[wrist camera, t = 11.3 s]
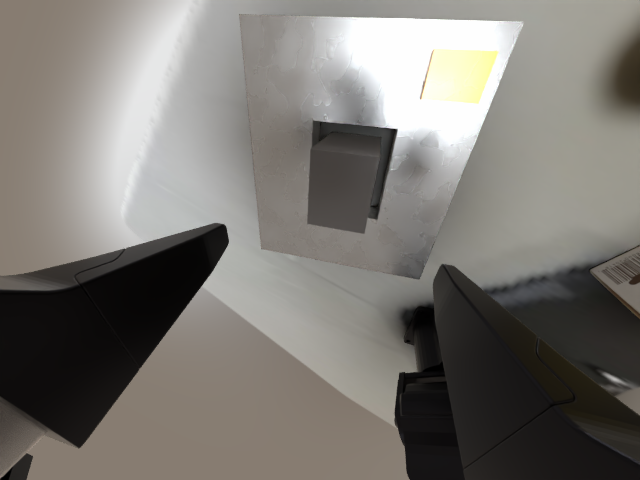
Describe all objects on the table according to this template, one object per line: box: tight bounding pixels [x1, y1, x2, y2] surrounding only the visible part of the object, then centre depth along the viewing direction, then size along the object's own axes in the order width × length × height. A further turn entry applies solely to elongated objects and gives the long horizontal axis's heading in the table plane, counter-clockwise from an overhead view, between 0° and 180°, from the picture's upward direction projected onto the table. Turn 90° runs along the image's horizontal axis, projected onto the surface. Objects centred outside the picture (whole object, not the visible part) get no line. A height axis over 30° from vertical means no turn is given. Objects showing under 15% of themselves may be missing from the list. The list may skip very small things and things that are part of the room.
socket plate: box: [239, 14, 524, 279], centre depth 19 cm, size 18×16×3 cm
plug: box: [307, 132, 381, 234], centre depth 17 cm, size 5×4×7 cm
